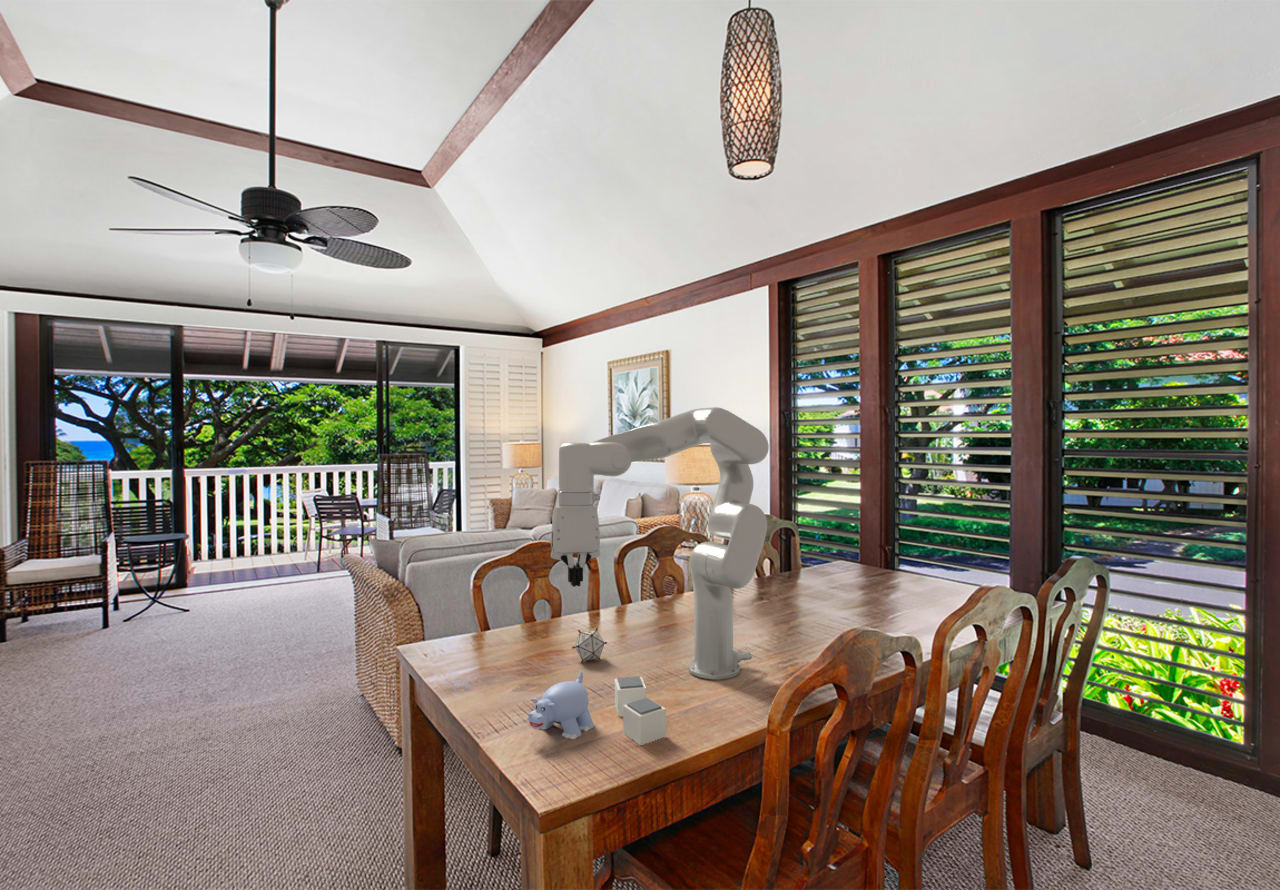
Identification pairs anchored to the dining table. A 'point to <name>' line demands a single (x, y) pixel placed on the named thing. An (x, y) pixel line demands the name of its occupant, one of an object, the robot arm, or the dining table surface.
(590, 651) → the game die
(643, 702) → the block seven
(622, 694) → the block three
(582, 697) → the hippopotamus toy
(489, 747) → the dining table surface
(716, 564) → the robot arm
